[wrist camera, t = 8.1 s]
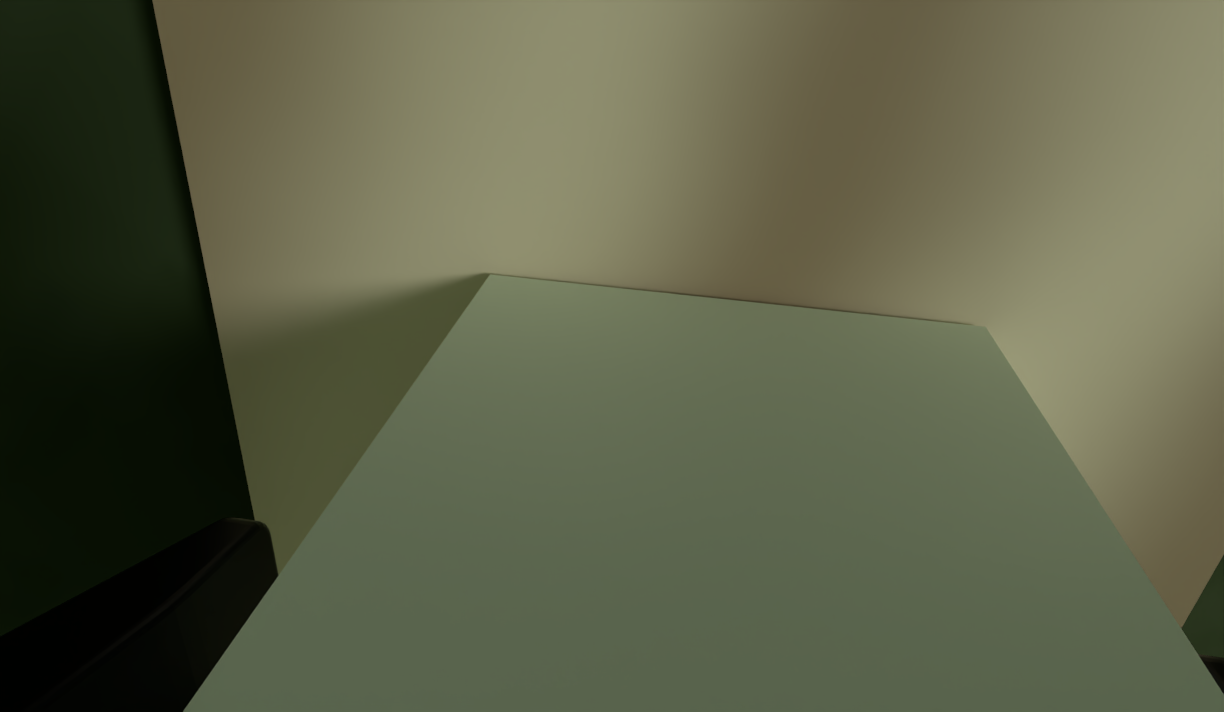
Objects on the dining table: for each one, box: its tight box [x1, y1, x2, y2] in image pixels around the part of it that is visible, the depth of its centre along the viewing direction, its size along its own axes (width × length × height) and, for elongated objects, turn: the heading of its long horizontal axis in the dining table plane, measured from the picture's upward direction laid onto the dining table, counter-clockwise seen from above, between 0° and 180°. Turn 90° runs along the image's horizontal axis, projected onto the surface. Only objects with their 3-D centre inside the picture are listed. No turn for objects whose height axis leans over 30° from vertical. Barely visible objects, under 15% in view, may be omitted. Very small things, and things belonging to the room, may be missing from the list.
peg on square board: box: [152, 0, 1224, 628], centre depth 7 cm, size 12×12×7 cm
